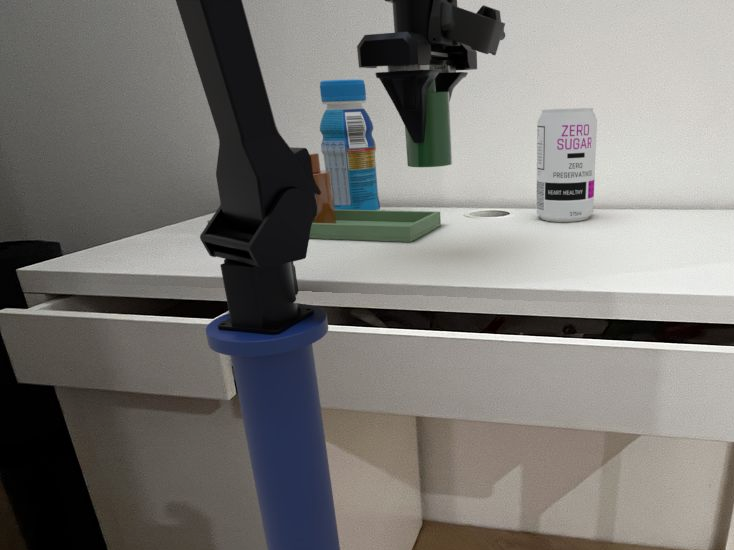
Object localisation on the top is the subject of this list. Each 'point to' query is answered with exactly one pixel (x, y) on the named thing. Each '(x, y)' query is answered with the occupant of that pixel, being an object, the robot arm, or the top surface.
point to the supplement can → (566, 164)
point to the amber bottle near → (323, 192)
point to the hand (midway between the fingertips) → (428, 141)
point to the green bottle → (433, 133)
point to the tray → (377, 225)
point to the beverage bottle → (349, 145)
